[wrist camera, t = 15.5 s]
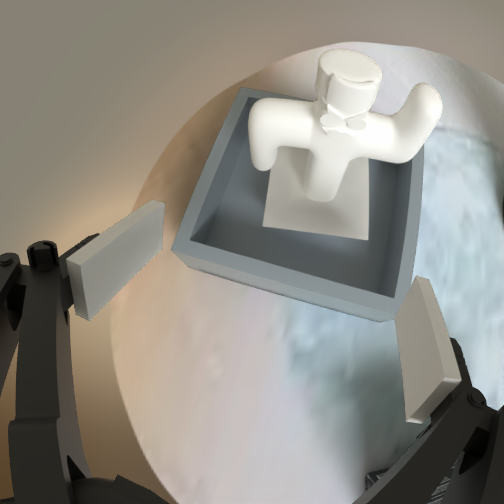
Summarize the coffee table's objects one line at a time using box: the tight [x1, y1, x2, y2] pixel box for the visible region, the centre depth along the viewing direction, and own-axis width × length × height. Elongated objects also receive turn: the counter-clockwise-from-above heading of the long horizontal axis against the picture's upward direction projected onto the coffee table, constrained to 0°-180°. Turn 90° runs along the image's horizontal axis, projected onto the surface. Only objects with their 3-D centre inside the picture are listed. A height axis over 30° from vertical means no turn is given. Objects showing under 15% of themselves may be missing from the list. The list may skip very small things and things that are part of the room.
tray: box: [171, 87, 424, 322], centre depth 24 cm, size 16×15×5 cm
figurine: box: [248, 49, 442, 240], centre depth 18 cm, size 7×9×15 cm
